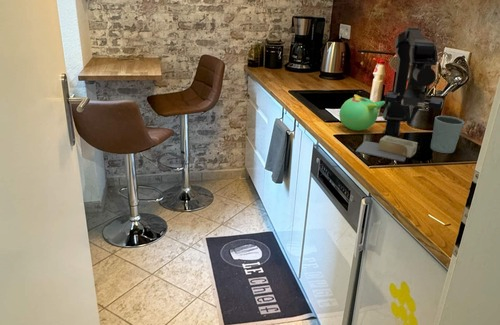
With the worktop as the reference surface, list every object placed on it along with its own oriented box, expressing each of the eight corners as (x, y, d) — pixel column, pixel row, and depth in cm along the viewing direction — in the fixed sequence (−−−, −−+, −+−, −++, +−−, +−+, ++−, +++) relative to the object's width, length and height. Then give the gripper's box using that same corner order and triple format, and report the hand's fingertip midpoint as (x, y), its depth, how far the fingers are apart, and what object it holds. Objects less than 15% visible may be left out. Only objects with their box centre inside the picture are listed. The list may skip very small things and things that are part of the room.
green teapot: (344, 120, 188) (348, 89, 182) (381, 127, 181) (387, 94, 175) (332, 131, 173) (336, 97, 168) (372, 138, 166) (377, 103, 160)
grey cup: (433, 142, 163) (439, 114, 159) (460, 149, 157) (467, 119, 153) (425, 149, 156) (431, 119, 151) (453, 156, 150) (460, 125, 145)
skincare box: (416, 153, 151) (384, 145, 158) (418, 142, 149) (386, 134, 156) (410, 158, 146) (377, 149, 153) (412, 147, 145) (379, 139, 152)
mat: (364, 141, 162) (364, 140, 162) (410, 150, 155) (410, 149, 154) (355, 151, 152) (355, 150, 152) (404, 161, 144) (404, 160, 144)
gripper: (384, 80, 137) (377, 124, 143) (444, 87, 128) (434, 134, 134) (391, 75, 146) (384, 117, 152) (447, 81, 137) (438, 126, 143)
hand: (409, 123), depth 145 cm, fingers closed
